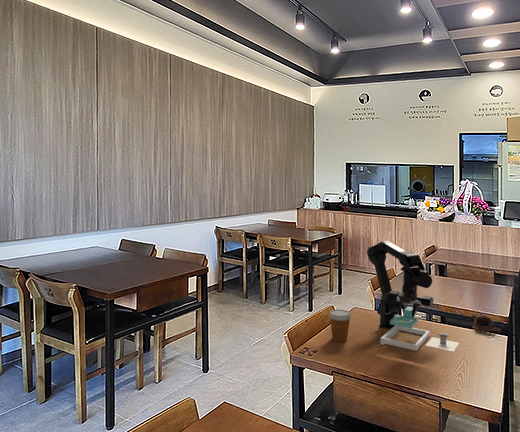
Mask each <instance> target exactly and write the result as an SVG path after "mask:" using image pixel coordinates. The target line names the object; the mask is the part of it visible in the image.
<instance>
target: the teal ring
mask: <svg viewBox="0 0 520 432" xmlns="http://www.w3.org/2000/svg"><path fill="white" fill-rule="evenodd" d="M412 312H413V306H408V305H407V307H406V308H405V309H404V313H403V315H400V314H395V317H394V318H393V319H391V320H390V324H392V325H397V326H402V327H407V328H414V326H416V325H417V324H418V323H419V319H418V318H415V317H414V318H412Z"/></svg>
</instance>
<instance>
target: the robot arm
mask: <svg viewBox="0 0 520 432" xmlns="http://www.w3.org/2000/svg"><path fill="white" fill-rule="evenodd" d="M366 254H367V258H368V260H369V261H370V262H371V264H372V265H373V267H374V269H375V273H376V278H377V280H378V281H377V282H378V285H379V288H380V293H381V297H380V300H379V301H380V302H379V303H380V305H379V306H378V307H377V308H376V313H377V315H379V316H380V317H379V325H378V328H382V329H387V330H390V329H391V328H393V327H394V326H395V325H392V324H390V320H391V319H393V318H394V317H395V316H396V315H399V313H400V309H401V310H402V313H403V314H404V309H405V308H406V307H408V305H407V304H411V303H412V302H414V303H412V307H413V312H412V318H415V315H416V313H417V311H418V309H419V307H421V306H425V307H431V306H432V305H433V304H434V297H433V296H429V295H423V296H422V297H420V296H418V287H421V288H424V289H428V288H430V287H431V286H432V284H433V278H432V275H430V274H429V271H426V268H425V266H424V263H423V262H422V260H421V259H422V258H421V257H420V255H419V254H418V253H415V252H411V251H407V250H404V249H402V248H401V247H399V246H398V245H395V244H394V243H393V242H392V241H390V240H384V241H380V242H378V243H376V244H374V245H372V246H370V247H368V249H367V251H366ZM387 254H389V255H390V256H392V257H394V258H396V259H397V260H398V261H399V264H400V265H401V266H402V267H401V268H400V271H403V278H402V279H403V281H402V282H403V284H402V286H401V291H396V290H393V289H392V286H391V282H390V278H389V275H388V271H387V267H386V264H385V263H386V260H387Z"/></svg>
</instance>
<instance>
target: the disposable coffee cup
mask: <svg viewBox="0 0 520 432" xmlns="http://www.w3.org/2000/svg"><path fill="white" fill-rule="evenodd" d="M328 316H329V320H330V328H331V338H332V340H333V341H335V342H341V343H342V342H346V341H347V339H348V335H349V329H350V328H349V326H350V321H351V320H350V319H351V318H352V315H351V313H350V311H348V310H345V309H332V310H330V311H329V314H328Z"/></svg>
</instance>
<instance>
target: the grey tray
mask: <svg viewBox="0 0 520 432" xmlns="http://www.w3.org/2000/svg"><path fill="white" fill-rule="evenodd" d="M399 331H402V332H406V333H407V332H408V333H410V334H411V333H412V334H417V335H421V337H420V338H419V339H418V340H417V342H416V343H415V344H414V343H410V342H405V341H402V340H401V341H400V340H398V339H397V340H396V339H392V338H393V337H394V336H395V335H396V334H398V333H399ZM430 333H431V331H430V330H425V329H421V328H416V327H412V328H407V327H402V326H397V325H395V326H394V327H393V328H391V329H388V331H387V332H386V333H384V335H382V336H381V337H380V345H381V346H385V344H386V345H390V346H395V347H397V348H398V347H399V348H403V349H408V350H412V351H415V352H416V351H418V350H419V349H420V348H421V346H422V345H423V344H424V343H425V341H426V340H427V339H428V338H429V337H430V335H431V334H430Z"/></svg>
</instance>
